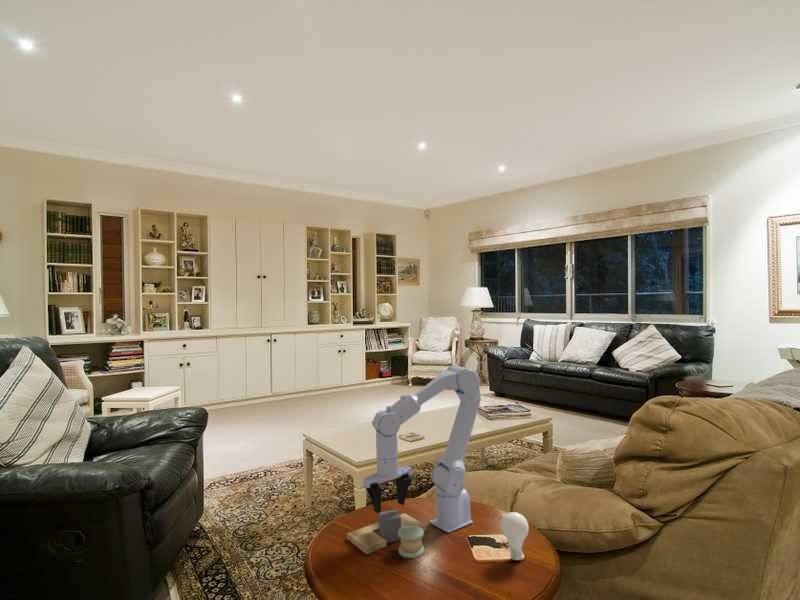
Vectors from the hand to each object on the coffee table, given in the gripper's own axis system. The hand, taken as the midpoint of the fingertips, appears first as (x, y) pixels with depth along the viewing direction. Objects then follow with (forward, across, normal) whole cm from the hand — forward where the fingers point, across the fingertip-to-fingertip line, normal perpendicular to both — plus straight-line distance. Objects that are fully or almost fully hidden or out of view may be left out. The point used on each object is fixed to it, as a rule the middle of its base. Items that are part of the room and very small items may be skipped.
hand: (389, 507), depth 124 cm
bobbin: (+8, 0, +10) cm, 12 cm away
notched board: (+8, 0, -2) cm, 8 cm away
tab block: (+8, 0, 0) cm, 8 cm away
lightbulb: (+8, -17, +28) cm, 34 cm away
